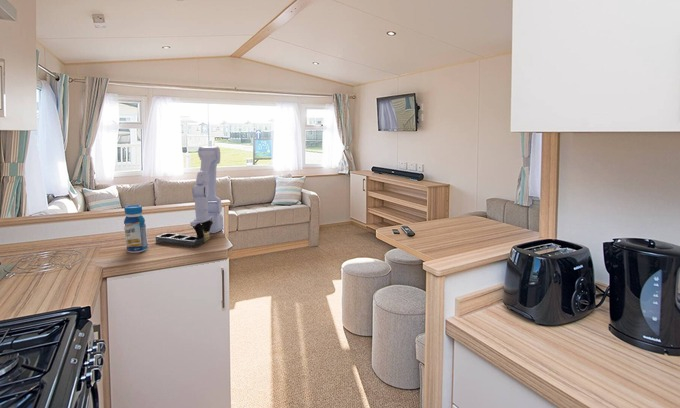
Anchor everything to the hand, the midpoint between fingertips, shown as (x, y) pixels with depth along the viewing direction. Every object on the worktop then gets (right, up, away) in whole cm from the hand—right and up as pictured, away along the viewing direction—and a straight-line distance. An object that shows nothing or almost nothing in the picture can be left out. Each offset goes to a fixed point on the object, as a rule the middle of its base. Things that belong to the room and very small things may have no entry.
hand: (203, 237), depth 188 cm
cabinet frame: (-9, -2, -5) cm, 11 cm away
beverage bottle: (-24, -5, -16) cm, 29 cm away
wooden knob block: (0, -1, 0) cm, 1 cm away
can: (-26, -3, -9) cm, 28 cm away
